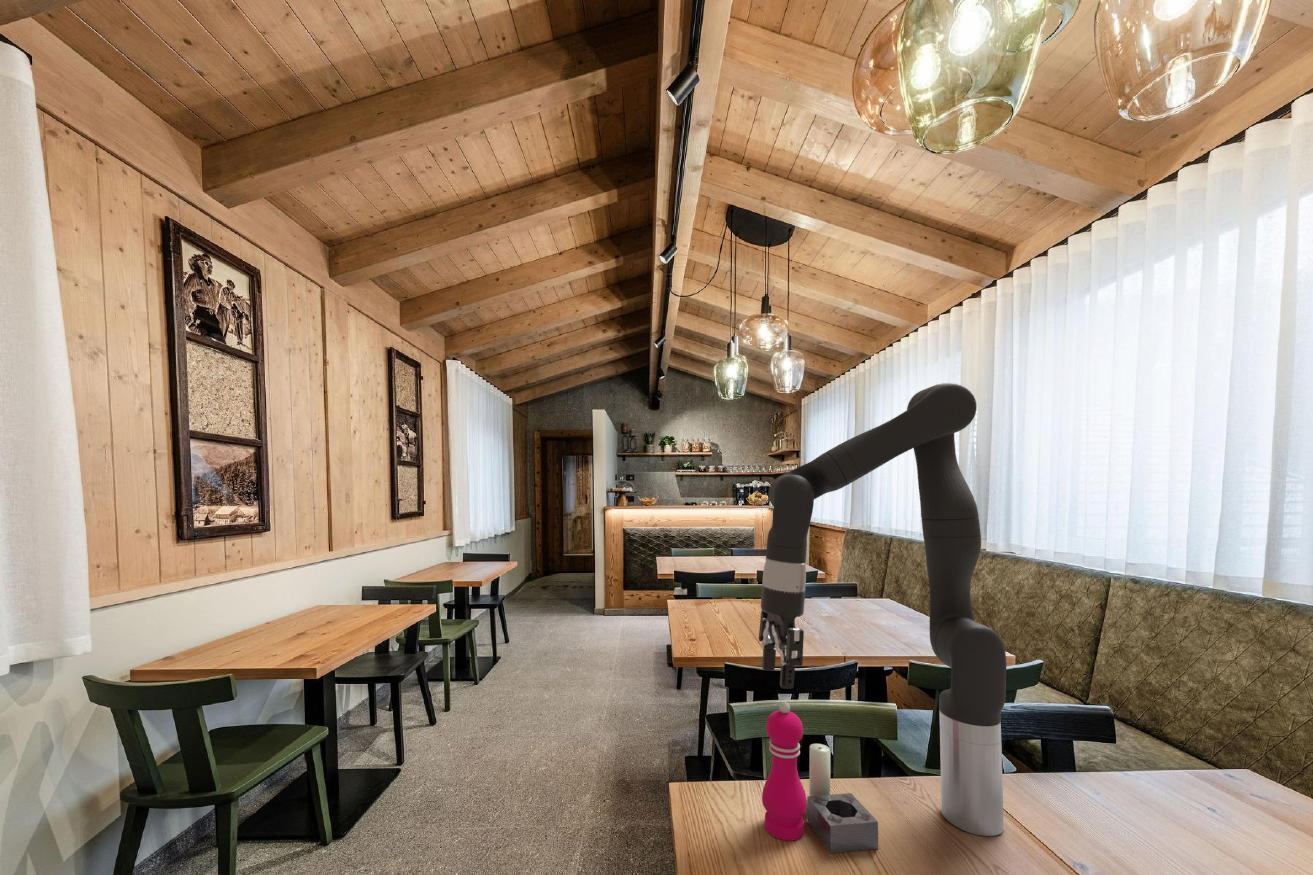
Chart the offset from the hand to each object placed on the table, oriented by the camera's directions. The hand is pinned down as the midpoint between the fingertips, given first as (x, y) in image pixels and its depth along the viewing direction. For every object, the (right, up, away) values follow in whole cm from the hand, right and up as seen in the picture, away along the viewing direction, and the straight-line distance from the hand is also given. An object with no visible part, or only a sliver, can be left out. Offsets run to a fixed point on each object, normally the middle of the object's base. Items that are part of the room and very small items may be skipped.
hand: (776, 678), depth 96 cm
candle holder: (+9, -22, -8) cm, 25 cm away
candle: (+7, -22, -1) cm, 23 cm away
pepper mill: (0, -22, -7) cm, 23 cm away
